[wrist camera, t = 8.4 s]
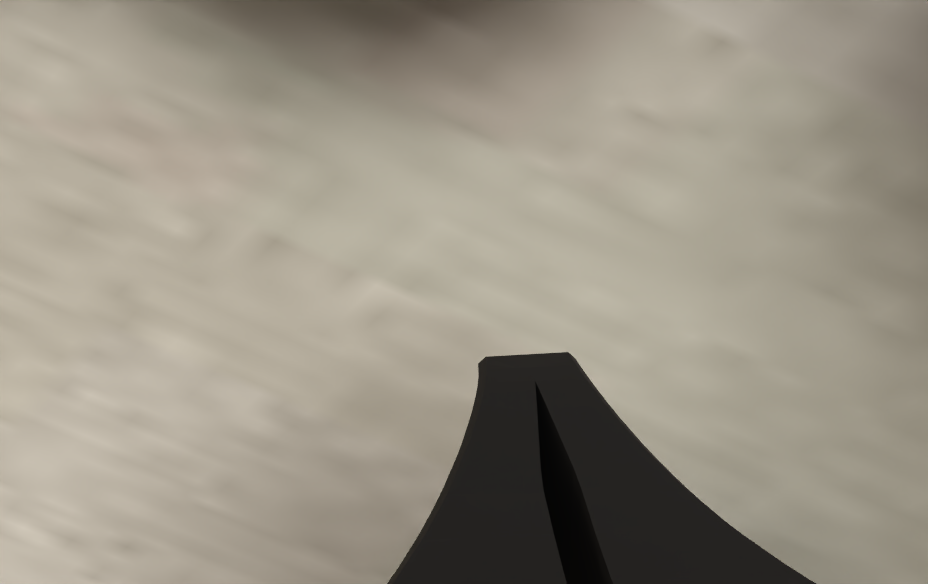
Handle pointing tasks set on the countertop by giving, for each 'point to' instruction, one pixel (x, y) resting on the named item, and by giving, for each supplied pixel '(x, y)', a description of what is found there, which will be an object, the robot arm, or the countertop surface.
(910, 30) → the countertop surface
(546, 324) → the countertop surface
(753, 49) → the countertop surface
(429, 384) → the countertop surface
